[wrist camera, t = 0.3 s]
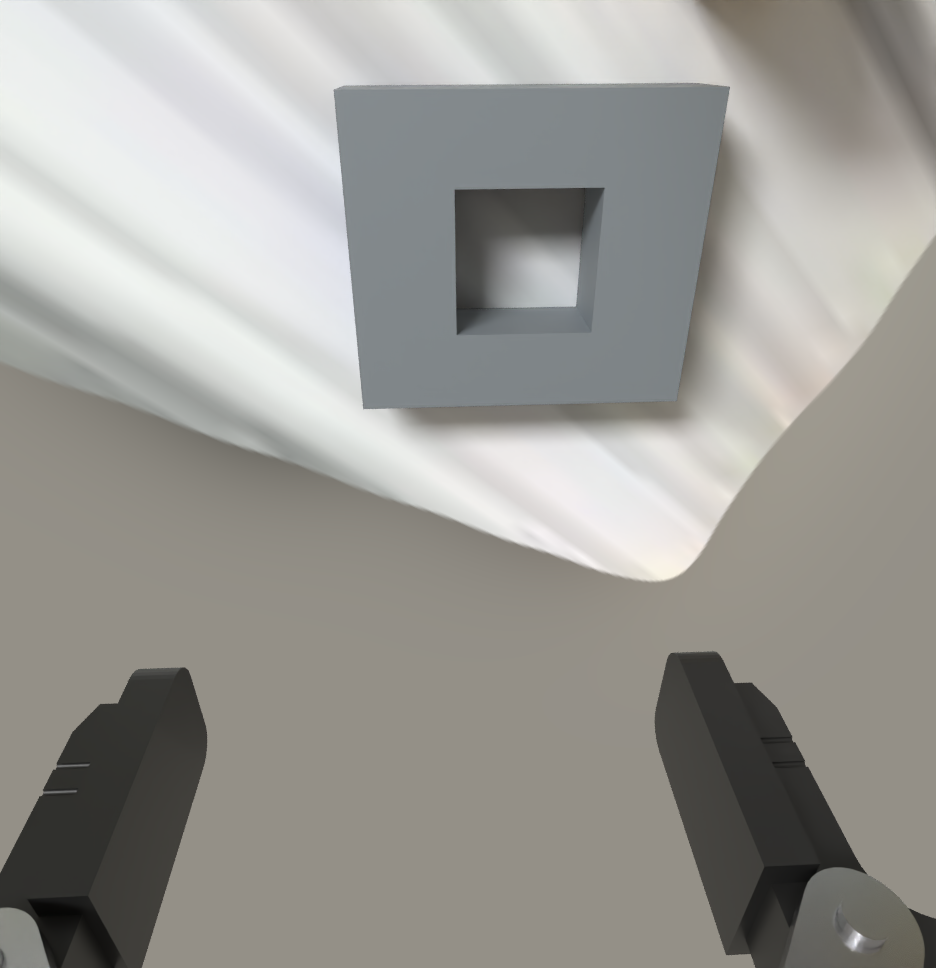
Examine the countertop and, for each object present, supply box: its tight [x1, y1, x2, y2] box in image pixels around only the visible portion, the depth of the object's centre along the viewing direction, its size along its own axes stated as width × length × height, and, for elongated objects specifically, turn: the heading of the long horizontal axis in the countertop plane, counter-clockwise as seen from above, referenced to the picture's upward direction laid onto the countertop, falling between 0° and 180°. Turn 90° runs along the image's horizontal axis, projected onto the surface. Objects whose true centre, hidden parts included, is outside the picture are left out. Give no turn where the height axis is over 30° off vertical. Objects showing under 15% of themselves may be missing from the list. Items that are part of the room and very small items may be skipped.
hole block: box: [334, 83, 730, 409], centre depth 33 cm, size 14×16×4 cm
